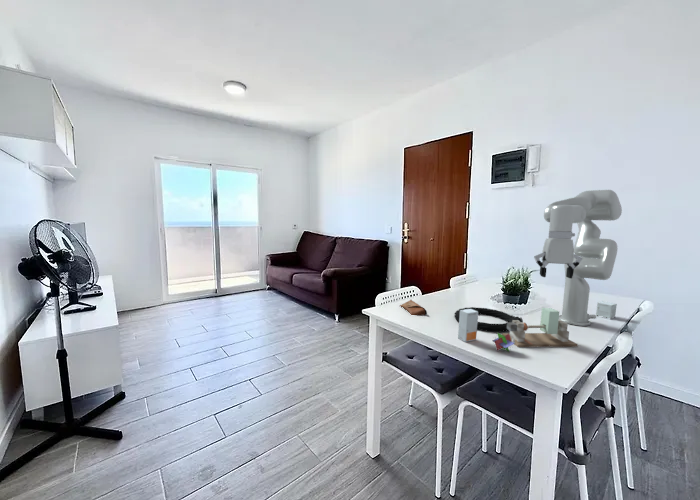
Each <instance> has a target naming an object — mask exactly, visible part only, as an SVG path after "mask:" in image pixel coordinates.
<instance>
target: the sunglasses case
mask: <svg viewBox="0 0 700 500" xmlns="http://www.w3.org/2000/svg"><path fill="white" fill-rule="evenodd" d="M400 306H401V307H400ZM399 307H400V308H402V307H403V308H404V309H405V311H406V310H407V311H408V312H409V313H410V314H411V315H417V316H427V314H428V311H427V310H426V309H425V308H424V307H423V306H421V305H420V304H418V303H417V302H415V301H414V300H413V299H409V300H408V301H406V302H404V303H402V304H400V305H399ZM403 308H402V309H403ZM404 309H403V310H404ZM407 311H406V312H407ZM408 312H407V313H408ZM409 313H408V314H409ZM411 315H410V316H411Z"/></svg>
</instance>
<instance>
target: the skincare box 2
mask: <svg viewBox="0 0 700 500" xmlns="http://www.w3.org/2000/svg"><path fill="white" fill-rule="evenodd" d="M617 306H618V304H617V303H613V302H609V301H605V300H601V301H598V302H597V303H596V313H595V315H598V316H597V317H599V316H603V317H607V318H612V319H614V318H613V317H616V312H617ZM603 317H602V318H603ZM607 318H606V319H607Z"/></svg>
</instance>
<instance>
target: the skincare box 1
mask: <svg viewBox="0 0 700 500" xmlns="http://www.w3.org/2000/svg"><path fill="white" fill-rule="evenodd" d="M478 319H479V314H478V311H475V310H473V309H465V310H460V316H459V322H458V331H457V333H458V334H457V339H458V340H461V341H462V342H464V343H467V342H473V341H476V340H477V331H478V329H477V322H479V320H478Z"/></svg>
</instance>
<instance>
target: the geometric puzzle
mask: <svg viewBox="0 0 700 500" xmlns="http://www.w3.org/2000/svg"><path fill="white" fill-rule="evenodd" d="M507 333H508V334H506V335H505V336H504V335H502V333H501V332H496V334H495V336H494V339H492V342H493V343H494V346H495V349H496V351H497V352H499V351H502V350H505V351H506V352H508V353H510V351H511V349H509V347H512V346H513V345H514V344H515V340H514V338H513V337H512V336H511V335H510V334H509V333H510V332H507ZM510 336H511V337H512V342H511V338H510ZM505 351H502V352H505Z"/></svg>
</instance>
